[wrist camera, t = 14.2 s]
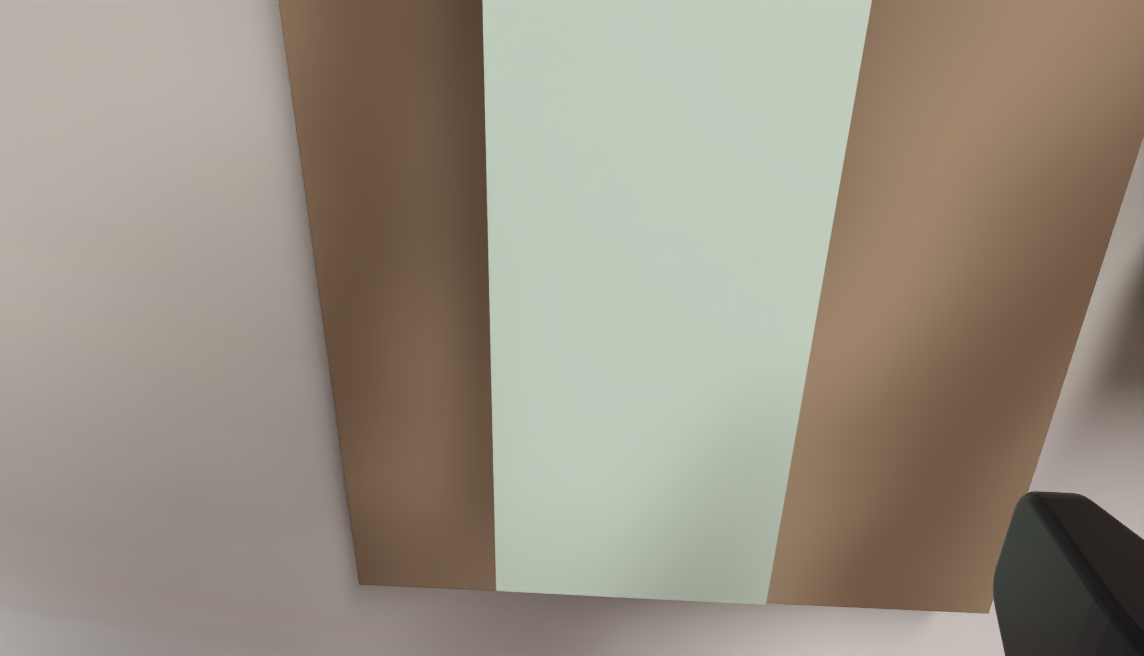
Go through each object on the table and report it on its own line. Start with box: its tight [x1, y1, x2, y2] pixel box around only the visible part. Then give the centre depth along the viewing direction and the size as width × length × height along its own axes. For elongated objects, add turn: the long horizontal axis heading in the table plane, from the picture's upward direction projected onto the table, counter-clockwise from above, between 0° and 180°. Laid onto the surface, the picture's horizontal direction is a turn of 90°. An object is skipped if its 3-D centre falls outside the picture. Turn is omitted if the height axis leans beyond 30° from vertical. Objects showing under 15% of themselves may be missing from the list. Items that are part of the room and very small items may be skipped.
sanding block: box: [482, 0, 872, 605], centre depth 14 cm, size 4×12×6 cm, turn 179°
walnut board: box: [279, 0, 1144, 614], centre depth 17 cm, size 14×24×2 cm, turn 179°
